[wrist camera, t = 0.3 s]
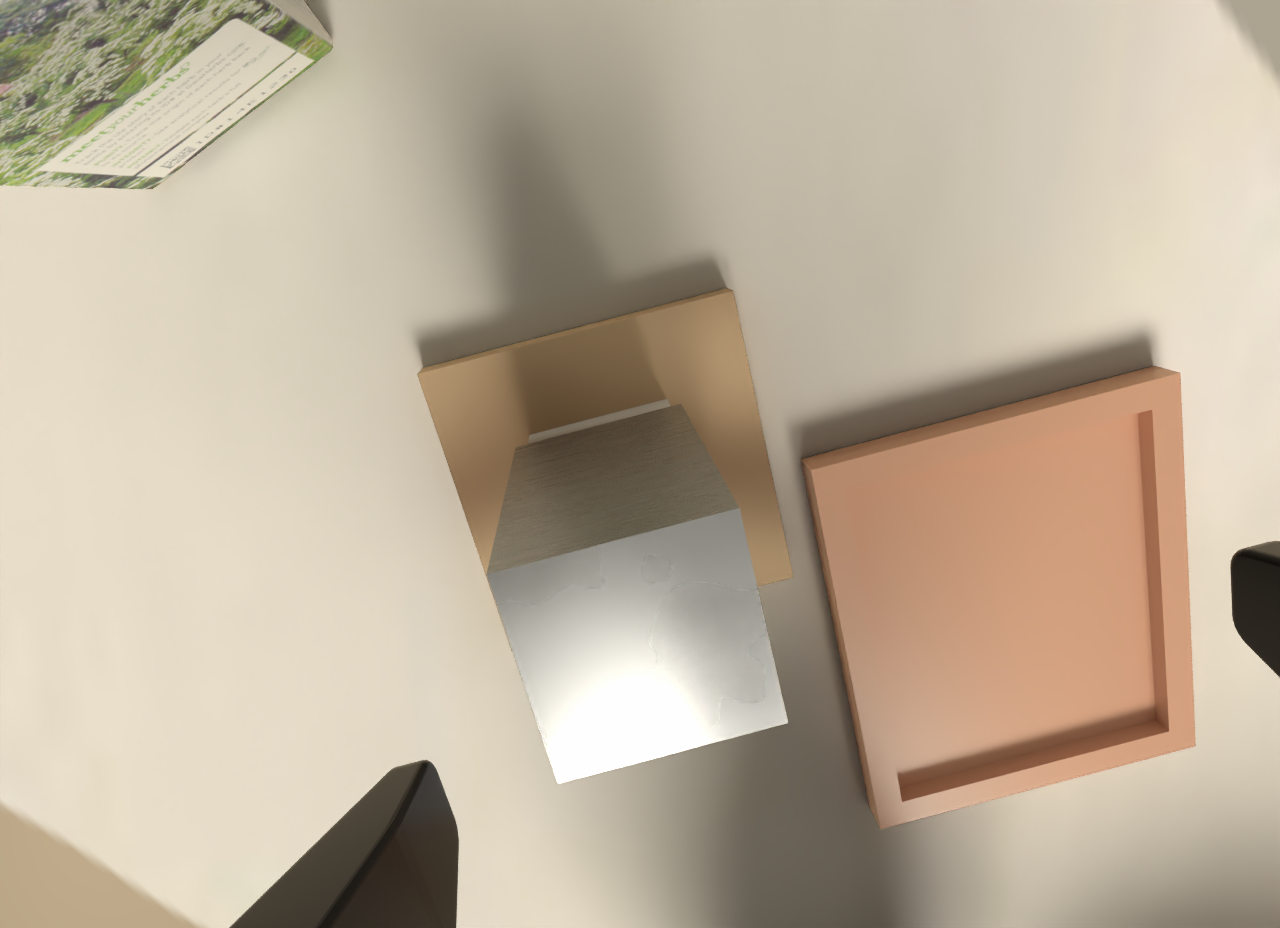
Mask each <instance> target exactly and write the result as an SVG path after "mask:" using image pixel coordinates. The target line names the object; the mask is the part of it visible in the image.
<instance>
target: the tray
mask: <svg viewBox="0 0 1280 928" xmlns="http://www.w3.org/2000/svg"><path fill="white" fill-rule="evenodd" d="M801 462H802V468H803V473H804V478H805V483H806V488H807V493H808V498H809V503H810V508H811V513H812V518H813V523H814V528H815V534H816V539H817V544H818V549H819V554H820V559H821V564H822V569H823V574H824V579H825V584H826V589H827V594H828V599H829V605H830V610H831V615H832V620H833V625H834V630H835V635H836V640H837V645H838V650H839V655H840V660H841V665H842V671H843V676H844V681H845V686H846V691H847V696H848V701H849V706H850V711H851V716H852V721H853V726H854V731H855V737H856V742H857V747H858V752H859V757H860V762H861V767H862V772H863V777H864V782H865V787H866V792H867V797H868V802H869V807H870V809H871V811H872V813H873V815H874V817H875V819H876V821H877V823H878V825H879V827H880V829H884V828H888V827H892V826H896V825H899V824H903V823H907V822H911V821H914V820H918V819H922V818H926V817H930V816H933V815H937V814H941V813H945V812H948V811H952V810H956V809H960V808H964V807H967V806H971V805H975V804H979V803H982V802H986V801H990V800H994V799H998V798H1001V797H1005V796H1009V795H1013V794H1016V793H1020V792H1024V791H1028V790H1032V789H1035V788H1039V787H1043V786H1047V785H1050V784H1054V783H1058V782H1062V781H1066V780H1069V779H1073V778H1077V777H1081V776H1084V775H1088V774H1092V773H1096V772H1100V771H1103V770H1107V769H1111V768H1115V767H1118V766H1122V765H1126V764H1130V763H1134V762H1137V761H1141V760H1145V759H1149V758H1152V757H1156V756H1160V755H1164V754H1168V753H1171V752H1175V751H1179V750H1183V749H1186V748H1190V747H1194V746H1196V744H1195V720H1194V696H1193V671H1192V647H1191V622H1190V598H1189V574H1188V549H1187V525H1186V500H1185V476H1184V452H1183V427H1182V403H1181V378H1180V373H1179V372H1175V371H1171V370H1168V369H1164V368H1160V367H1157V366H1152V367H1148V368H1144V369H1141V370H1137V371H1133V372H1129V373H1126V374H1122V375H1118V376H1114V377H1110V378H1107V379H1103V380H1099V381H1095V382H1091V383H1088V384H1084V385H1080V386H1076V387H1072V388H1069V389H1065V390H1061V391H1057V392H1054V393H1050V394H1046V395H1042V396H1038V397H1035V398H1031V399H1027V400H1023V401H1019V402H1016V403H1012V404H1008V405H1004V406H1000V407H997V408H993V409H989V410H985V411H981V412H978V413H974V414H970V415H966V416H963V417H959V418H955V419H951V420H947V421H944V422H940V423H936V424H932V425H928V426H925V427H921V428H917V429H913V430H909V431H906V432H902V433H898V434H894V435H891V436H887V437H883V438H879V439H875V440H872V441H868V442H864V443H860V444H856V445H853V446H849V447H845V448H841V449H837V450H834V451H830V452H826V453H822V454H819V455H815V456H811V457H807V458H803V459H801Z"/></svg>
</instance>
